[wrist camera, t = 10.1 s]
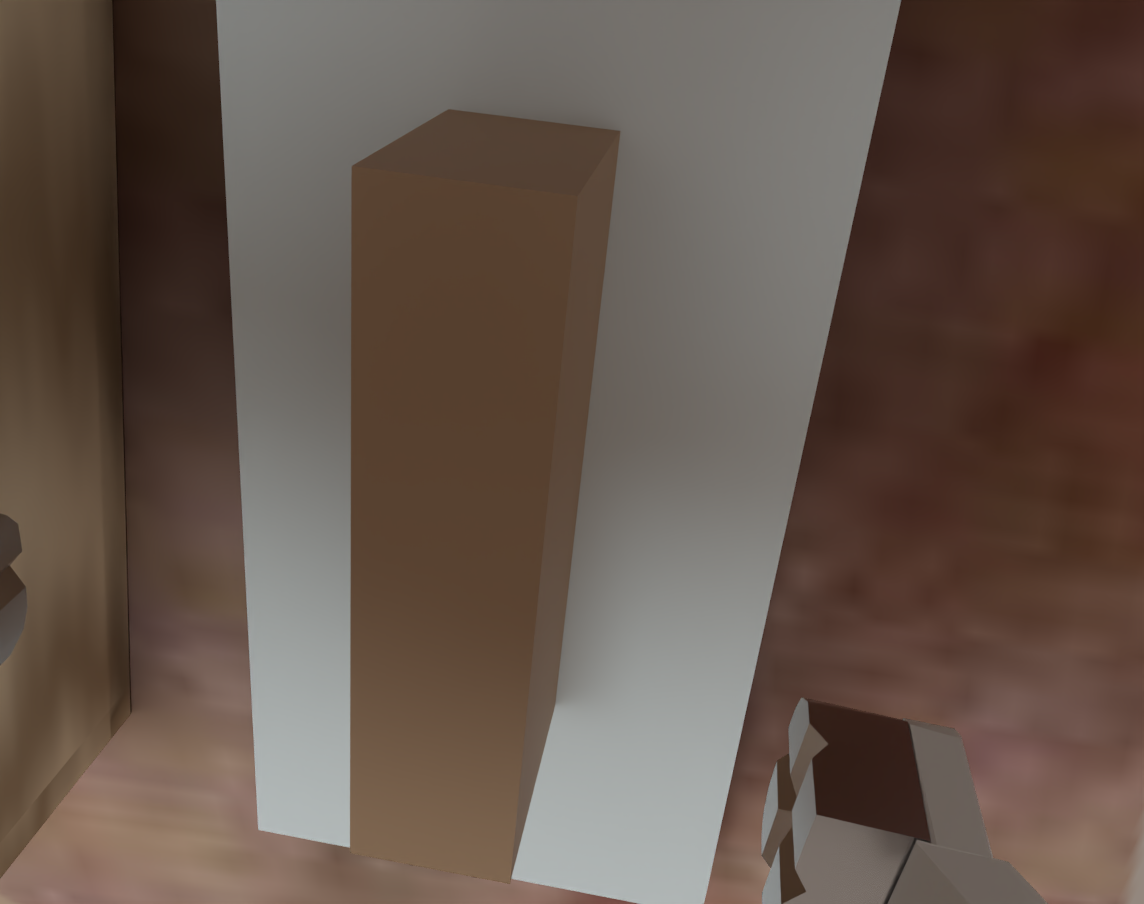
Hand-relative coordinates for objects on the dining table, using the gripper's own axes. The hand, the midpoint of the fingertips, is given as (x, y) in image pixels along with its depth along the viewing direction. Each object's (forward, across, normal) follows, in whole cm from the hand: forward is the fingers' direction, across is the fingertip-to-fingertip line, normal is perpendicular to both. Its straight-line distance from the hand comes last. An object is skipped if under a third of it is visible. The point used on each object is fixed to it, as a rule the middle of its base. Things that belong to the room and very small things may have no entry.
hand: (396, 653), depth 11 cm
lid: (+8, 0, +1) cm, 8 cm away
